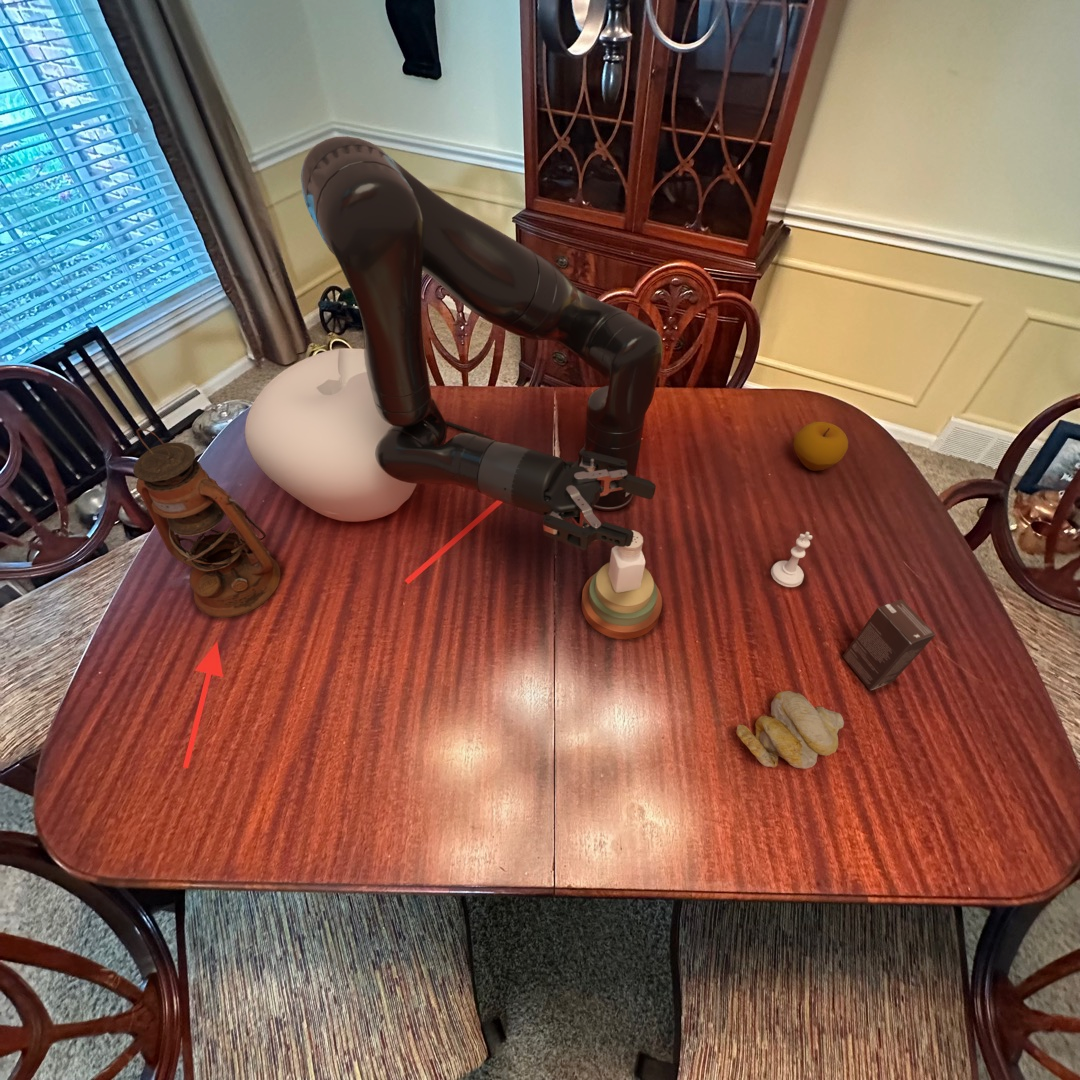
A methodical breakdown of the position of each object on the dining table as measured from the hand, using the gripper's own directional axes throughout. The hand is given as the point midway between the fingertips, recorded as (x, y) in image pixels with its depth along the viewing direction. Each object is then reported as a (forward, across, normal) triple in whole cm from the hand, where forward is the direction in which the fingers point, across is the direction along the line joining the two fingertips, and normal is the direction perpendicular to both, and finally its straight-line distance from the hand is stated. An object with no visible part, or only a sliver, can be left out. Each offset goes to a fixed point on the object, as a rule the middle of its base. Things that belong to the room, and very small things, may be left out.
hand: (643, 514), depth 72 cm
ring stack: (-2, +2, +23) cm, 23 cm away
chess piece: (+21, +19, +24) cm, 37 cm away
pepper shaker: (-2, +2, +17) cm, 18 cm away
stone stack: (+25, -8, +23) cm, 35 cm away
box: (+34, +6, +24) cm, 42 cm away
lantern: (-58, -18, +23) cm, 65 cm away
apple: (+20, +47, +24) cm, 57 cm away
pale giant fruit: (-51, +6, +23) cm, 56 cm away
